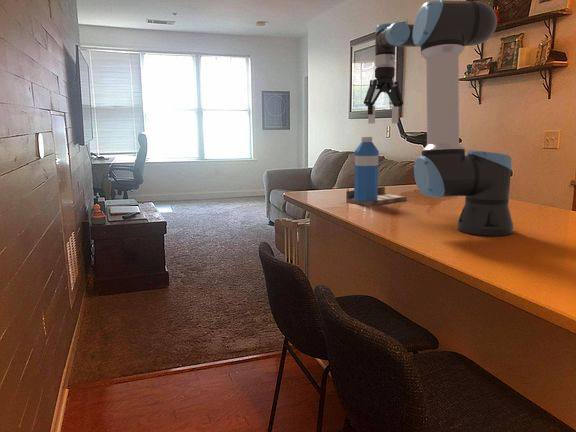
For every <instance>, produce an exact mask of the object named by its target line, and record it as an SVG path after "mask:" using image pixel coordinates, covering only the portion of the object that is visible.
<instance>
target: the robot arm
mask: <svg viewBox="0 0 576 432" xmlns="http://www.w3.org/2000/svg"><path fill="white" fill-rule="evenodd" d="M497 24H498V18H497V14H496V12H495V10H494V8H492V7H491V6H490V5H489V4H488V3H485V2H483V1H478V0H428V1H426V2H424V3H423V4H422V5H421V6H420V8H419V10H418V12H417V14H416V17H415V20H414V23H412V24H410V23H409V24H407V23H406V22H404V21H397V22H393V23H390V22H389V23H387V22H386V23H381V24H378V25H377V26H376V27H375V34H374V37H375V44H374V48H375V49H374V51H375V52H374V54H375V55H374V57H375V58H374V67H375V68H374V78H373V79H370V80H369V86H368V89H367V92H366V95H365V97H364V100H363V104H364V105H365V107H367V115H368V121H367V123H368V124H376V105H375V103H376V102H377V100H378V99H379V96H380V95H381V94H382V93H385V94H387V96H388V98H389V100H390V101H391V103H392V105H393V106H391V124H399V115H400V107H402V106H403V105H404V101H403V97H402V94H401V90H400V87H399V80H393V79H394V77H395V73H396V67H395V66H396V65H395V64H396V61H395V60H396V59H395V57H396V48H397V47H400V48H401V47H403V48H404V47H407V48H408V47H410V48H412V47H414V48H415V47H417V48H418V47H420V55H421V56H422V57H423V58H424V59H425V61H426V64H425V65H426V68H425V69H426V146H424V148H422V150H421V155H420V156H418V157H417V158H416V159H415V161H414V165H413V175H414V176H413V177H414V181H415V183H416V184H415V185H416V187H417V189H418V190H419V192H420V193H421V194H422V195H423V196H425V197H427V198H441V199H442V198H447V197H448V198H449V197H465V198H464V199H465V200H464V201H465V202H464V206H463V208H462V210H461V212H460V216H459V217H458V219H457V230H458V231H459V232H463V233H466V234H470V235H471V234H472V235H475V236H486V237H489V236H490V237H493V236H494V237H497V236H498V237H501V236H509V235H511V234H514V223H513V222H514V221H513V218H512V215H511V212H510V207H509V203H510V201H509V200H510V191H511V190H510V187H511V179H512V178H511V175H512V172H513V169H512V168H513V167H512V165H513V164H512V158H511V156H510V155H509V154H507V153H499V152H491V151H480V150H469V151H467V154H465V153H466V151H465V147H464V146H463V145H461V143H460V103H459V102H460V100H459V99H460V97H459V93H460V91H459V85H460V81H459V80H460V79H459V78H460V77H459V75H460V73H459V70H460V68H459V67H460V66H459V65H460V64H459V63H460V62H459V61H460V60H459V57H460V55H461V54H462V53H463V52H464V51H465V47H466V46H467V47H471V46H472V47H473V46H477V45H481V44H483V43H485V42H486V41H489V40H490V38H491V37H493V35H494V33H495V31H496V28H497V26H498V25H497Z"/></svg>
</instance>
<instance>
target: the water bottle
mask: <svg viewBox="0 0 576 432" xmlns="http://www.w3.org/2000/svg"><path fill="white" fill-rule="evenodd" d="M379 154H380V152H379V149H378V148H377V146H376V145H375V144H374V143H373V136H362V137H361V142H360V143H359V145H358V146H357V148H355V150H354V172H353V173H354V178H353V180H354V181H353V182H354V186H353V190H354V200H356V201H365V202H368V201H376V200H377V199H378V187H379V157H380V156H379Z"/></svg>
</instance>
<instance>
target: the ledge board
mask: <svg viewBox="0 0 576 432" xmlns="http://www.w3.org/2000/svg"><path fill="white" fill-rule="evenodd" d="M385 190H386V187H385V186H378V199H377V200H376V201H368V202H365V201H356V200H354V189H353V190H347V191H345V192H346V193H345V194H346V195H345V196H346V197H345V198H346V203H350V204H356V205H361V206H367V207H371V206H378V205H384V204H391V203H397V202H398V201H399V202H405V201H407V200H408V199H407V198H408V197H407V196H406V195H405V196H404V195H403V196H402V195H396V194H389V193H386V191H385ZM404 200H405V201H404Z"/></svg>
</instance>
